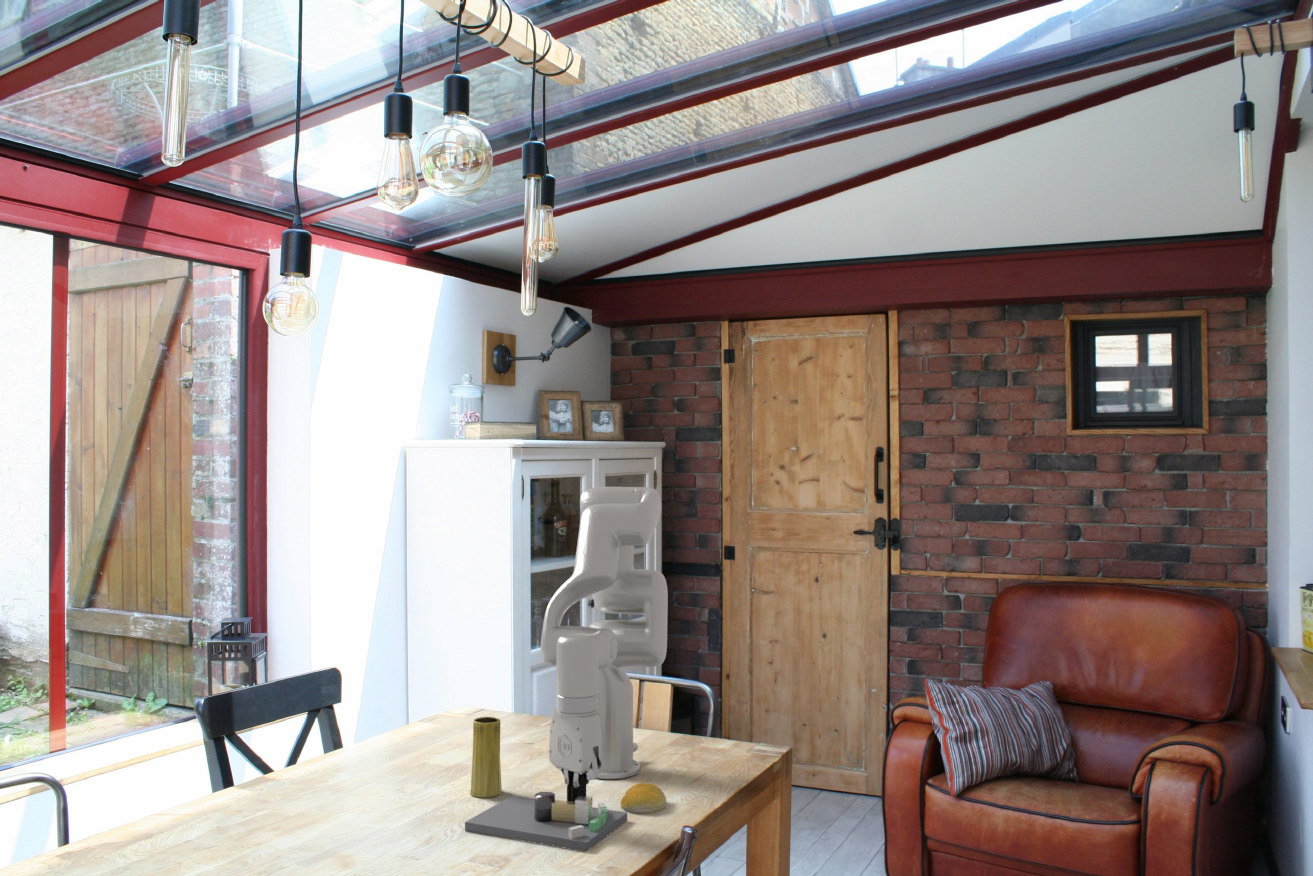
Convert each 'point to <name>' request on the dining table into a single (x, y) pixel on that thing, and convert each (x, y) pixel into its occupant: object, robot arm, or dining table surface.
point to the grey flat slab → (544, 824)
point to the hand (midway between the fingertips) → (576, 807)
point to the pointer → (562, 808)
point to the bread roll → (643, 799)
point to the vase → (486, 758)
